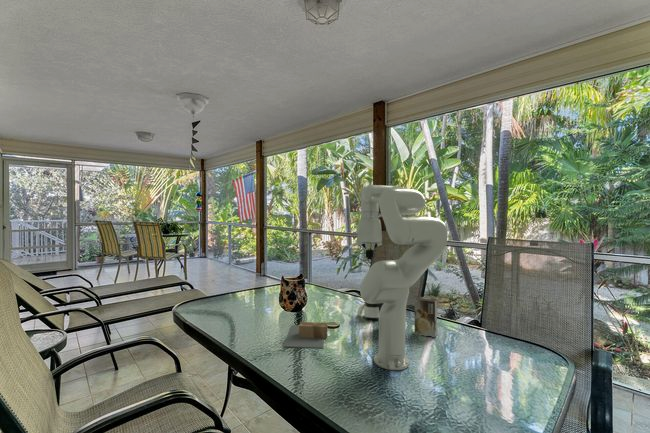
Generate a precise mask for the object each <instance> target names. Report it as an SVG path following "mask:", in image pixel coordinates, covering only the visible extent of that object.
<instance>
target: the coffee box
mask: <svg viewBox="0 0 650 433" xmlns="http://www.w3.org/2000/svg"><path fill="white" fill-rule="evenodd" d="M437 314H438V299H437V298H434V297H433V298H432V297H426V296H416V297H415V299H414V335H415V334H418V335H417V336H421V335H424V336H423V337H426V336H432V337H435V336H437V335H436V334H438V331H437V329H438V328H437V326H438V324H437V323H438V321H437V320H438V318H437V317H438V315H437ZM432 337H431V338H432ZM435 338H436V337H435Z"/></svg>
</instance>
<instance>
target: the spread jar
mask: <svg viewBox="0 0 650 433" xmlns="http://www.w3.org/2000/svg"><path fill="white" fill-rule="evenodd" d="M363 312H364V318H365V319H366V320H368V321H377V320H378V321H379V303H378V304H369V303H366V302H365V301H364V302H362V303H361V304H360V305H359V307H358V309H357V314H356V315H357V316H359V317H360V316H362V314H363Z"/></svg>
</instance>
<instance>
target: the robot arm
mask: <svg viewBox="0 0 650 433" xmlns="http://www.w3.org/2000/svg"><path fill="white" fill-rule="evenodd" d="M425 206H426V199H425V196H424V195H423V194H422V193H421V192H420V191H418V190H416V189H412V188H405V187H403V186H397V185H384V184H383V185H382V184H369V185H366V187H363V188H362V189H360V219H358V224H357V234H356V235H357V236H356V238H357V242H356V245H357V246H359V247H363V248H364V249H365V258H366V259H367V260H369V261H370V260H373V258H374V250H375V249H376V248H377V247H379V246H382V245H383V242H382V239H383V233H382V232H383V231H382V223H381V219H380V218H382V220H383V222H384V226H385V229H386V231H387V232H386V233H387V234H388V237H389V239H390V241H391V242H393V243H394V244H396V245H405V246H406V245H413V246H411V247H409V248H408V249H406V251H404V253H402V256H400V258H398V259H395V260H394V259H393V260H392V259H391V260H378V261H376V262H374V263H373V264H372V265H371V266H370V268H369V269H368V271H367V272H366V274H365V275H364V278H362V281H361V283H360V288H359V291H360V297H361V299H362V301H364V303H365V302H366V303H369V304H378V303H384V304H383V305H382V307H381V309H380V313H379V319H378V322H379V325H378V329H379V330H378V353H377V354H375V355H374V357H373V362H374V364H375V365H376V366H378V367H380V368H382V369H385V370H390V371H401V370H405V369H407V368H408V367H409V366H410V359H409V358H408V357H407V356H406V327H407V326H406V324H407V323H406V322H407V304H408V300H409V294H410V287H413V285H415V283H416V282H417V281H418V280H419V279H420V278H421V277H422V276H423V275H424V273H425V272H426V271H427V270H428V269H429V268H430V267H431V266H432V265H433V264H434V263H435V262H437V260H439V258H440V257H441V256H442V254H443V252H444V251H445V249H446V248H447V247H446V246H447V243H448V235H449V234H448V233H449V232H448V227H447V226H446V223H444V222H443V221H442V220H440V219H438V218H436V217H431V216H412V215H415V214H418V213H420V212H422V211H423V209H424V208H425ZM379 211H380V213H379ZM403 215H405V216H403ZM406 215H407V216H406ZM369 244H370V248H369Z"/></svg>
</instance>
